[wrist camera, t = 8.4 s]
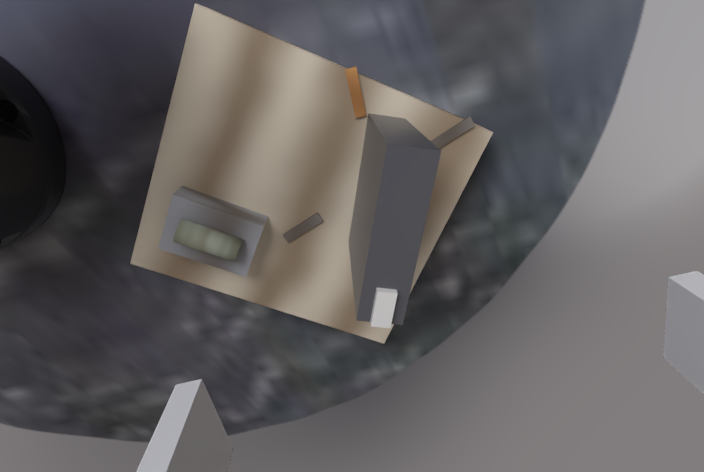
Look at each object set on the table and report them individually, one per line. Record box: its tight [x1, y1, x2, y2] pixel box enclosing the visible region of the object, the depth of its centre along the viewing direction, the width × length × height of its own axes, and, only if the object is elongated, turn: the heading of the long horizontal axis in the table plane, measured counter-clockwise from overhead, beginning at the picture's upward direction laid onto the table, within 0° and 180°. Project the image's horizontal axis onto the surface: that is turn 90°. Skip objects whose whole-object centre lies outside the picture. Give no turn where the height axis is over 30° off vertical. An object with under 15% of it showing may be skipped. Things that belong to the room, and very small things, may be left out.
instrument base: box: [130, 3, 493, 344], centre depth 31 cm, size 20×18×6 cm
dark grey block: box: [349, 113, 441, 328], centre depth 25 cm, size 9×2×10 cm, turn 172°
